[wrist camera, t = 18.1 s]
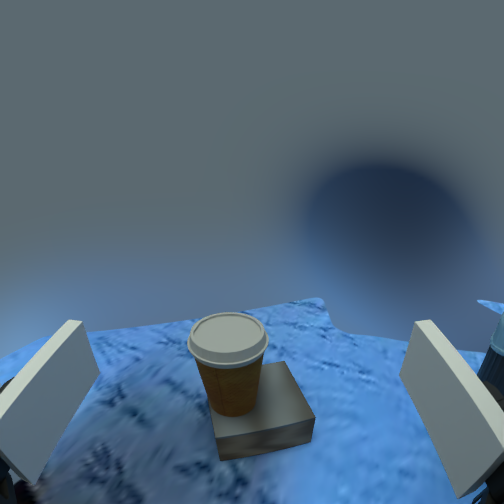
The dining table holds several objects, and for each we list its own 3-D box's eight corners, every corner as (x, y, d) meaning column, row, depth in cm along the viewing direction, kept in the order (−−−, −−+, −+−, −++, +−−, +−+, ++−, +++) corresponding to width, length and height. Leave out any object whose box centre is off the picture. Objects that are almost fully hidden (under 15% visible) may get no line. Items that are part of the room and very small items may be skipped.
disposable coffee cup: (232, 370, 44) (227, 303, 40) (281, 398, 38) (285, 327, 34) (184, 400, 37) (169, 331, 33) (233, 438, 31) (225, 367, 27)
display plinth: (283, 386, 48) (284, 360, 46) (310, 441, 36) (315, 417, 34) (207, 399, 45) (203, 373, 43) (220, 460, 33) (215, 437, 31)
